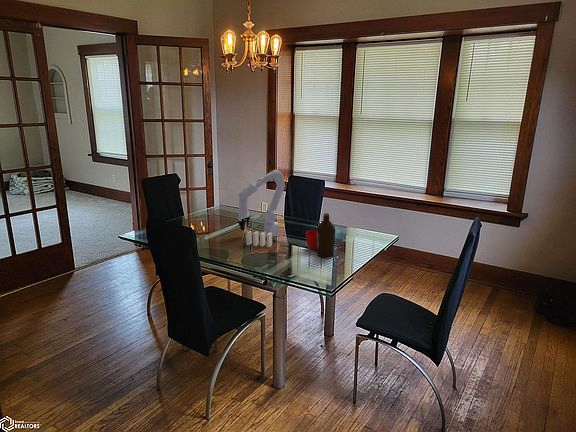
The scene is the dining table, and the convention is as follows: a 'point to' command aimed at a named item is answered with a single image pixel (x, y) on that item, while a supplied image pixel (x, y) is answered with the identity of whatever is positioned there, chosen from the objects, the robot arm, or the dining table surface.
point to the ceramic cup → (312, 239)
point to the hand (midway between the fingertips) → (244, 228)
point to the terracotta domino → (245, 227)
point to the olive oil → (325, 238)
